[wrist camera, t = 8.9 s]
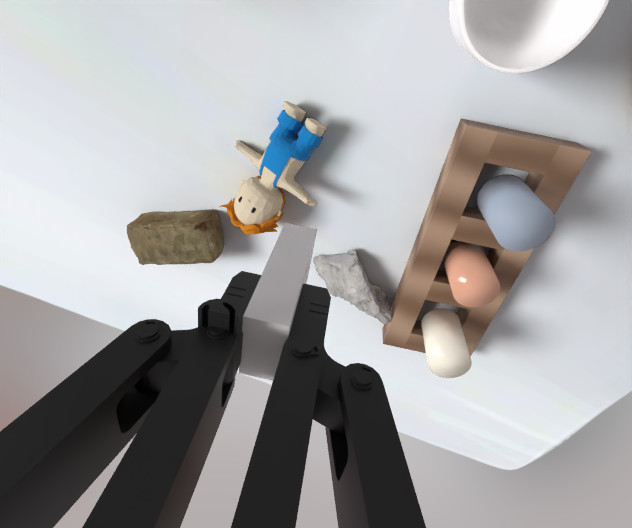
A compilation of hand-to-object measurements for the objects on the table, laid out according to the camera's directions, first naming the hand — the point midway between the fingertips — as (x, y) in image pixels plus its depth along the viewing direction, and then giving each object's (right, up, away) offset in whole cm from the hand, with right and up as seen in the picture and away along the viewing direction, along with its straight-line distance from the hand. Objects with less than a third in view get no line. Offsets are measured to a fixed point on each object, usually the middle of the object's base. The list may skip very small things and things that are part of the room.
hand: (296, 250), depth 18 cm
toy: (-4, +11, +26) cm, 28 cm away
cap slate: (+20, +6, +21) cm, 30 cm away
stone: (+6, -2, +33) cm, 34 cm away
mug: (+17, +23, +14) cm, 32 cm away
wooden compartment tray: (+19, +1, +28) cm, 34 cm away
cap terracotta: (+19, 0, +28) cm, 34 cm away
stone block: (-17, +4, +32) cm, 36 cm away
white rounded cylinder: (+17, -8, +31) cm, 36 cm away
